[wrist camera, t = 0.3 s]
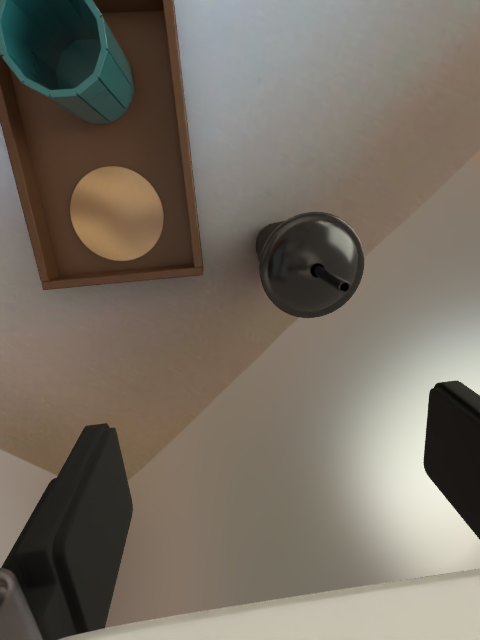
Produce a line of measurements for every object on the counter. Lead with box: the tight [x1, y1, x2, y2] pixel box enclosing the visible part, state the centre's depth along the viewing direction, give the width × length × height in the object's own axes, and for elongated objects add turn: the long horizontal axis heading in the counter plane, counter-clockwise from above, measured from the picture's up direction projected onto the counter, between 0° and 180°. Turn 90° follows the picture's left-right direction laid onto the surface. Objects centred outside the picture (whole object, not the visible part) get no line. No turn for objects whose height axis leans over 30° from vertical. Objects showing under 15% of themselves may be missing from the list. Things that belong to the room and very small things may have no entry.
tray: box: [0, 0, 203, 290], centre depth 33 cm, size 24×16×3 cm, turn 4°
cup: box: [0, 0, 134, 125], centre depth 28 cm, size 7×7×10 cm
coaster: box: [70, 166, 164, 261], centre depth 36 cm, size 9×9×1 cm
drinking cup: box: [256, 212, 364, 318], centre depth 29 cm, size 8×8×20 cm
